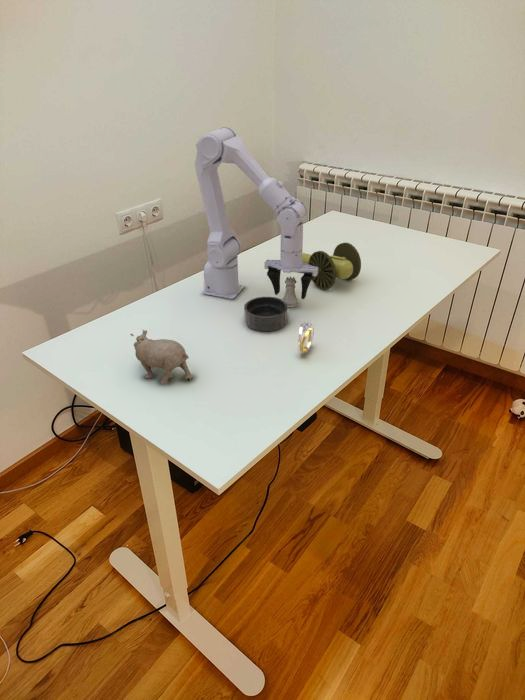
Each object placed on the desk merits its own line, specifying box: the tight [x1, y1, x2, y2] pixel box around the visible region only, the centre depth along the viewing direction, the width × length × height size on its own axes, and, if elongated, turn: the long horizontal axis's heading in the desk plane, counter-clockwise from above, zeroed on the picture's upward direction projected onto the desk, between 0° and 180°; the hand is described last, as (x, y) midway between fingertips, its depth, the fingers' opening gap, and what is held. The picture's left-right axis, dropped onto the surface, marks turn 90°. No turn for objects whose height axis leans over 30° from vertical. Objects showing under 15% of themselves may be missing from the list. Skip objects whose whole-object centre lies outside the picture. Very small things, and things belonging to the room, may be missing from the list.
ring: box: [297, 321, 315, 355], centre depth 118 cm, size 7×3×8 cm, turn 148°
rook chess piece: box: [282, 276, 299, 309], centre depth 138 cm, size 4×4×8 cm
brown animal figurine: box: [130, 329, 193, 385], centre depth 111 cm, size 8×14×15 cm
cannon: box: [302, 242, 362, 291], centre depth 151 cm, size 25×12×11 cm, turn 37°
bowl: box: [243, 296, 289, 332], centre depth 131 cm, size 11×11×4 cm
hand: (290, 295), depth 138 cm, fingers open, 7 cm apart
